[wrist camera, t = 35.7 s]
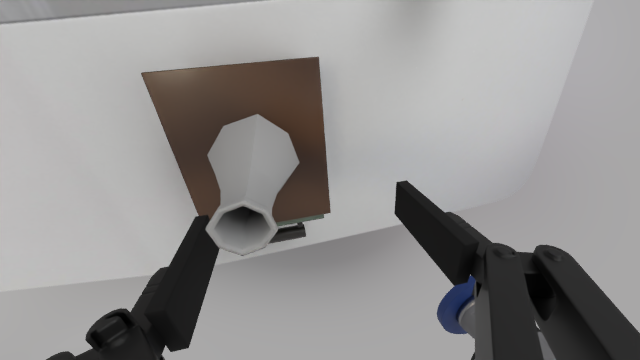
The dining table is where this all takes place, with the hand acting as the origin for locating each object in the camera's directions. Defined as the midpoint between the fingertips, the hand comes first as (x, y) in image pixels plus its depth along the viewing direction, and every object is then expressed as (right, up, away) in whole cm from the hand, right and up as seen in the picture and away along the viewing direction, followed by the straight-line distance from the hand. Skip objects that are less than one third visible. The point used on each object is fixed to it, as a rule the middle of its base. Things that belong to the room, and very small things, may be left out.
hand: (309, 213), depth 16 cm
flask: (-5, +4, +4) cm, 8 cm away
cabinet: (-7, +9, +12) cm, 16 cm away
